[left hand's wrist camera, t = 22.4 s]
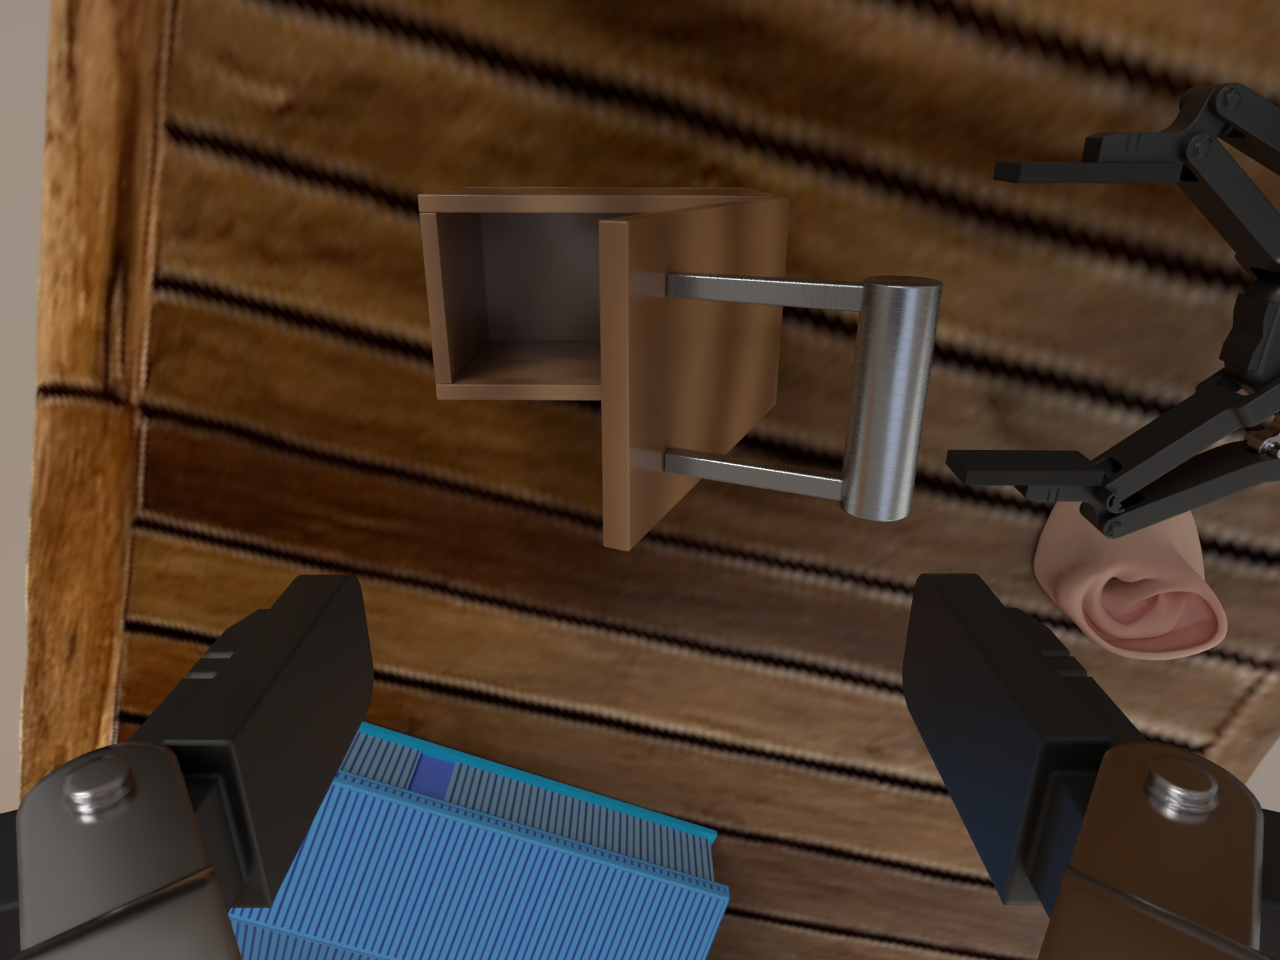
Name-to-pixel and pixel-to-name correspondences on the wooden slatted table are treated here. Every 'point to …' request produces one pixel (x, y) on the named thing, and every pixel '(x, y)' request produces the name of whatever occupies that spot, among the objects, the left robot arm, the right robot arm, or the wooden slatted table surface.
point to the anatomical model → (1131, 585)
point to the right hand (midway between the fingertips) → (978, 330)
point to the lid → (742, 364)
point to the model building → (483, 868)
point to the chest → (527, 283)
